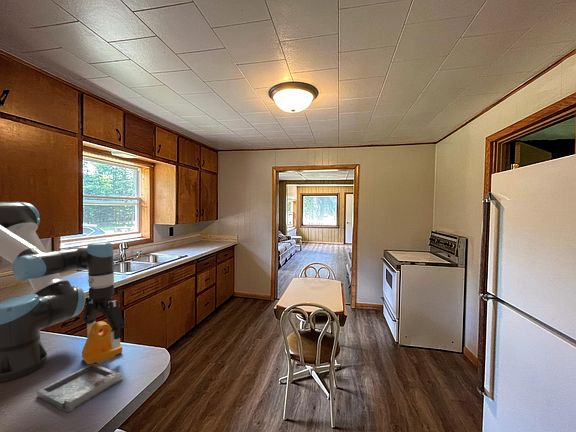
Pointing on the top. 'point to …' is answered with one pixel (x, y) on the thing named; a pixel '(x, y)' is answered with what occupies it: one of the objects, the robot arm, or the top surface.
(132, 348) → the top surface
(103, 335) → the bracket
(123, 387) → the top surface
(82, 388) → the tray
